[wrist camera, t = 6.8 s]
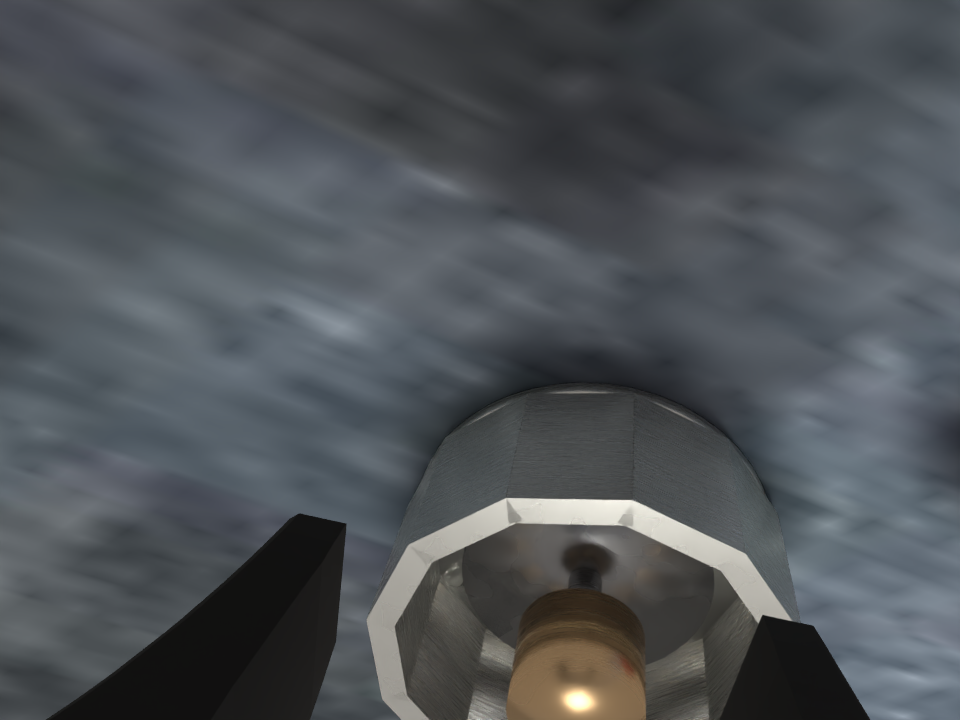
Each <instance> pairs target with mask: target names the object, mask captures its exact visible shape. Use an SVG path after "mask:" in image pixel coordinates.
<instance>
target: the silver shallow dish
mask: <svg viewBox="0 0 960 720" xmlns="http://www.w3.org/2000/svg"><path fill="white" fill-rule="evenodd" d="M516 523H528V524H574V525H620V526H627V527H629V528H631V529H633V530H635V531H637V532H639V533H642V534H644V535H646V536H648V537H650V538H652V539H654V540H656V541H659V542H661V543H663V544H665V545H667V546H669V547H671V548H673V549H675V550H678V551H680V552H682V553H684V554H686V555H688V556H690V557H692V558H695V559H697V560H699V561H701V562H703V563H705V564H707V565H709V566H711V567H713V569H714V585H715V586H714V594H713V600H712V603H711V607H710V610H709V612H708V614H707V616H706V618H705V620H704V622H703V624H702V625H701V626H700V628H699V629H698V631H697V632H696V633H695V634H694V635H693V636H692V637H691V638H690V639H689V640H688V641H687V642H686V643H685V644H684V645H682V646H681V647H680V648H679V649H677V650H676V651H674V652H673V653H671V654H669V655H667V656H666V657H664V658H662V659H660V660H657V661H655V662H653V663H650V664H647V665H645V668H646V720H720V717H721V715H722V712H723V710H724V707H725V705H726V702H727V700H728V698H729V695H730V693H731V690H732V688H733V685H734V683H735V680H736V678H737V675H738V673H739V671H740V668H741V666H742V663H743V661H744V658H745V656H746V653H747V651H748V649H749V646H750V644H751V641H752V639H753V636H754V634H755V631H756V629H757V626H758V624H759V622H760V619H761V617H762V615H766V616H771V617H775V618H780V619H784V620H789V621H793V622H798V623H801V621H800V616H799V611H798V606H797V602H796V597H795V592H794V588H793V583H792V578H791V574H790V569H789V564H788V560H787V555H786V550H785V546H784V541H783V536H782V531H781V527H780V522H779V517H778V513H777V512H776V510H775V509H774V507H773V506H772V504H771V503H770V501H769V500H768V498H767V497H766V494H765V492H764V489H763V486H762V483H761V481H760V480H759V478H758V476H757V474H756V473H755V471H754V469H753V467H752V465H751V464H750V463H749V461H748V460H747V459H746V457H745V456H744V455H743V453H742V452H741V451H740V450H739V448H738V447H737V446H736V445H735V444H734V443H733V442H732V441H731V440H730V439H729V438H728V437H727V436H726V435H725V434H724V433H723V432H722V431H720V430H719V429H718V428H716V427H715V426H714V425H712V424H711V423H710V422H708V421H707V420H706V419H704V418H703V417H701V416H700V415H698V414H696V413H694V412H693V411H691V410H689V409H687V408H685V407H684V406H682V405H680V404H678V403H675V402H673V401H670V400H668V399H666V398H663V397H661V396H658V395H655V394H652V393H648V392H645V391H641V390H638V389H634V388H630V387H624V386H618V385H611V384H602V383H582V382H581V383H565V384H554V385H549V386H543V387H537V388H532V389H529V390H526V391H522V392H519V393H516V394H513V395H509V396H507V397H505V398H503V399H501V400H498V401H496V402H494V403H492V404H489V405H488V406H486V407H484V408H483V409H481V410H480V411H478V412H476V413H475V414H473V415H472V416H470V417H469V418H468V419H466V420H465V421H464V422H463V423H462V424H460V425H459V426H458V427H457V428H456V429H454V430H453V431H452V433H451V434H450V435H448V436H446V437H445V438H444V440H443V442H442V444H441V445H440V446H439V448H438V449H437V451H436V453H435V454H434V456H433V457H432V459H431V460H430V462H429V464H428V467H427V469H426V471H425V474H424V476H423V478H422V481H421V483H420V484H419V486H418V488H417V490H416V492H415V494H414V496H413V497H412V499H411V501H410V503H409V505H408V507H407V510H406V512H405V515H404V518H403V521H402V523H401V526H400V529H399V532H398V534H397V537H396V540H395V543H394V546H393V548H392V551H391V554H390V557H389V559H388V562H387V565H386V568H385V570H384V573H383V576H382V579H381V581H380V584H379V587H378V590H377V592H376V595H375V598H374V601H373V603H372V606H371V609H370V612H369V615H368V617H367V624H368V630H369V635H370V640H371V645H372V650H373V655H374V660H375V665H376V670H377V675H378V680H379V685H380V690H381V695H382V699H383V700H384V702H385V703H386V704H387V705H388V706H389V707H390V708H391V709H392V710H393V711H394V712H395V713H396V714H397V715H398V716H399V717H400V719H401V720H508V719H507V714H506V704H507V698H508V692H509V686H510V679H511V673H512V667H513V660H514V654H515V649H513V648H512V647H510V646H509V645H507V644H505V643H504V642H503V641H502V640H500V639H499V638H498V637H497V636H496V635H494V634H493V633H492V632H491V631H490V630H489V629H488V627H487V626H486V625H485V624H484V623H483V622H482V620H481V619H480V618H479V616H478V615H477V614H476V612H475V610H474V609H473V607H472V605H471V603H470V601H469V599H468V596H467V594H466V591H465V587H464V582H463V578H462V560H463V552H464V548H465V547H466V546H468V545H470V544H473V543H475V542H477V541H479V540H481V539H483V538H486V537H488V536H490V535H492V534H494V533H496V532H499V531H501V530H503V529H505V528H507V527H509V526H511V525H514V524H516Z"/></svg>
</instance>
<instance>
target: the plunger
mask: <svg viewBox="0 0 960 720" xmlns="http://www.w3.org/2000/svg"><path fill="white" fill-rule="evenodd" d="M462 578H463V582H464V587H465V591H466V594H467V596H468V599H469V601H470V603H471V605H472V607H473V609H474V610H475V612H476V614H477V615H478V616H479V618H480V619H481V620H482V622H483V623H484V624H485V625H486V626H487V627H488V629H489V630H490V631H491V632H492V633H493V634H494V635H496V636H497V637H498V638H499V639H500V640H502V641H503V642H504V643H505V644H507V645H509V646H510V647H512V648H513V649H515V654H514V660H513V667H512V673H511V679H510V686H509V692H508V698H507V704H506V714H507V719H508V720H646V668H645V665H647V664H650V663H653V662H655V661H657V660H660V659H662V658H664V657H666V656H667V655H669V654H671V653H673V652H674V651H676V650H677V649H679V648H680V647H681V646H682V645H684V644H685V643H686V642H687V641H688V640H689V639H690V638H691V637H692V636H693V635H694V634H695V633H696V632H697V631H698V629H699V628H700V626H701V625H702V624H703V622H704V620H705V618H706V616H707V614H708V612H709V610H710V607H711V603H712V600H713V594H714V586H715V585H714V569H713V567H711V566H709V565H707V564H705V563H703V562H701V561H699V560H697V559H695V558H692V557H690V556H688V555H686V554H684V553H682V552H680V551H678V550H675V549H673V548H671V547H669V546H667V545H665V544H663V543H661V542H659V541H656V540H654V539H652V538H650V537H648V536H646V535H644V534H642V533H639V532H637V531H635V530H633V529H631V528H629V527H627V526H620V525H574V524H528V523H516V524H514V525H511V526H509V527H507V528H505V529H503V530H501V531H499V532H496V533H494V534H492V535H490V536H488V537H486V538H483V539H481V540H479V541H477V542H475V543H473V544H470V545H468V546H466V547H465V548H464V552H463V560H462Z"/></svg>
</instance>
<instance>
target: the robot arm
mask: <svg viewBox="0 0 960 720" xmlns="http://www.w3.org/2000/svg"><path fill="white" fill-rule="evenodd" d="M345 535H346V524H345V523H341V522H336V521H331V520H327V519H322V518H318V517H313V516H309V515H304V514H297V515H296V516H294V517H292V518H290V519H289V520H288V521H287V522H286V523H285V524H284V525H283V526H282V527H281V528H280V529H279V530H278V531H277V532H276V533H275V534H274V535H273V536H272V537H271V538H270V539H269V540H268V541H267V542H266V543H265V544H264V545H263V546H262V547H261V548H260V549H259V550H258V551H257V552H256V553H255V554H254V555H253V556H252V557H251V558H250V559H248V560H247V561H246V562H245V563H244V564H243V565H242V566H241V567H240V568H239V569H238V570H237V571H236V572H234V573H233V574H232V575H231V576H230V577H229V578H228V579H227V580H226V581H225V582H224V583H222V584H221V585H220V586H219V587H218V588H217V589H216V590H214V591H213V592H212V593H211V594H210V595H209V596H207V597H206V598H205V599H204V600H203V601H202V602H200V603H199V604H198V605H197V606H196V607H195V608H194V609H192V610H191V611H190V612H189V613H188V614H187V615H185V616H184V617H183V618H182V619H181V620H180V621H178V622H177V623H176V624H175V625H174V626H172V627H171V628H170V629H169V630H167V631H166V632H165V633H164V634H162V635H161V636H160V637H159V638H157V639H156V640H155V641H153V642H152V643H151V644H150V645H148V646H147V647H146V648H144V649H143V650H142V651H141V652H139V653H138V654H137V655H135V656H134V657H133V658H132V659H130V660H129V661H128V662H126V663H125V664H124V665H123V666H121V667H120V668H119V669H117V670H116V671H115V672H114V673H112V674H111V675H109V676H108V677H107V678H105V679H104V680H103V681H101V682H100V683H98V684H97V685H96V686H94V687H93V688H92V689H90V690H89V691H87V692H86V693H85V694H83V695H82V696H80V697H79V698H77V699H76V700H74V701H73V702H72V703H70V704H69V705H67V706H66V707H64V708H63V709H61V710H60V711H58V712H57V713H55V714H54V715H52V716H51V717H49V718H48V719H46V720H310V718H311V715H312V712H313V709H314V706H315V703H316V700H317V697H318V694H319V691H320V688H321V685H322V682H323V679H324V676H325V673H326V670H327V667H328V664H329V661H330V658H331V655H332V652H333V649H334V646H335V643H336V634H337V623H338V612H339V601H340V590H341V579H342V568H343V557H344V546H345ZM720 720H870V718H869V717H868V715H867V713H866V712H865V710H864V709H863V707H862V705H861V704H860V702H859V700H858V699H857V697H856V695H855V694H854V692H853V690H852V689H851V687H850V685H849V684H848V682H847V680H846V679H845V677H844V675H843V674H842V672H841V670H840V669H839V667H838V665H837V664H836V662H835V660H834V659H833V657H832V655H831V654H830V652H829V650H828V649H827V647H826V645H825V644H824V642H823V640H822V639H821V637H820V636H819V634H818V632H817V631H816V629H815V628H814V626H812V625H807V624H803V623H798V622H793V621H789V620H784V619H780V618H775V617H771V616H766V615H762V617H761V619H760V622H759V624H758V626H757V629H756V631H755V634H754V636H753V639H752V641H751V644H750V646H749V649H748V651H747V653H746V656H745V658H744V661H743V663H742V666H741V668H740V671H739V673H738V675H737V678H736V680H735V683H734V685H733V688H732V690H731V693H730V695H729V698H728V700H727V702H726V705H725V707H724V710H723V712H722V715H721V717H720Z"/></svg>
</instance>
